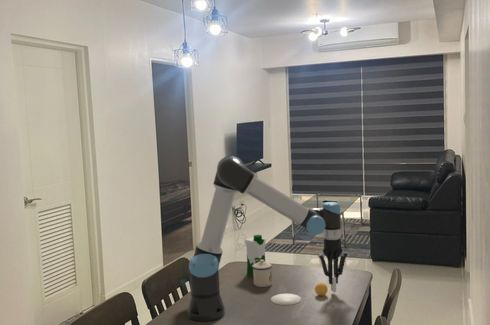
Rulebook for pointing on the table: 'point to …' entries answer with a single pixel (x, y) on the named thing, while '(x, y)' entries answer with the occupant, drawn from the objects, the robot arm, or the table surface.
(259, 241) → the milk carton
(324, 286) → the ball
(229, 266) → the table surface
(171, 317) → the table surface
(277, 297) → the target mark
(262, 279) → the teacup with lid
